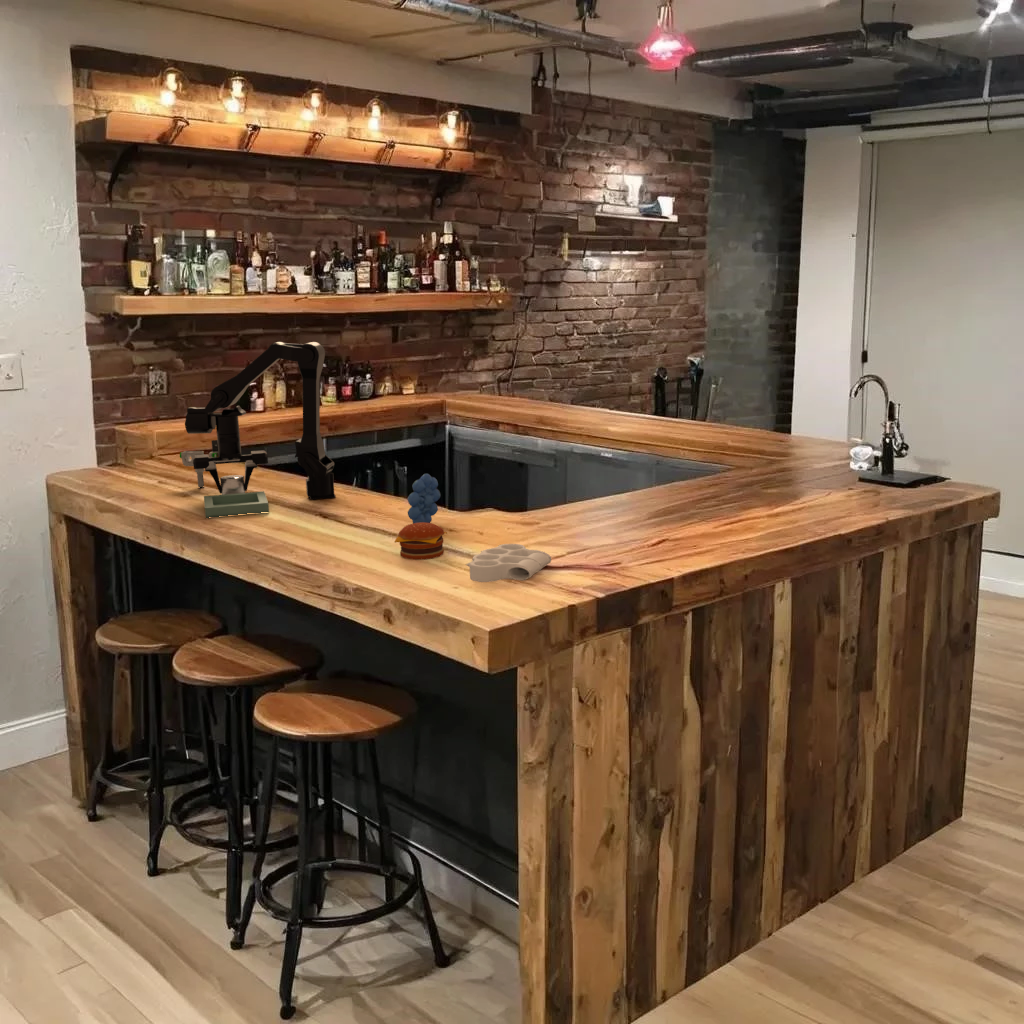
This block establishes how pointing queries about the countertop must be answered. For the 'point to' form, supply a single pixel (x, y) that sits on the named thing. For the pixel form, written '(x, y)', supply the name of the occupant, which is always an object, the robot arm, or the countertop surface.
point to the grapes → (423, 499)
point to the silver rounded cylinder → (232, 484)
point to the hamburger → (421, 541)
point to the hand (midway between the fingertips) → (233, 492)
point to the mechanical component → (189, 462)
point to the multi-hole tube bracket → (507, 563)
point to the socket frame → (235, 504)
